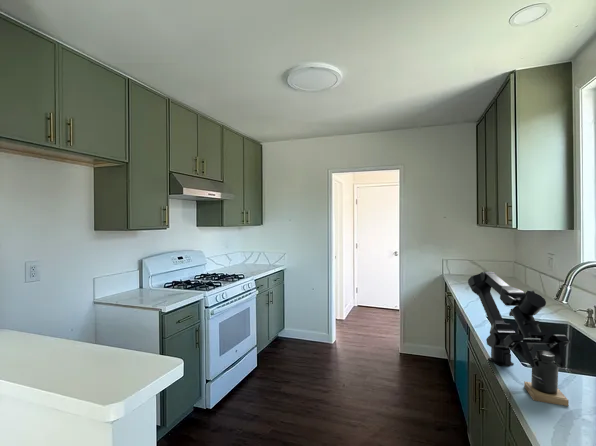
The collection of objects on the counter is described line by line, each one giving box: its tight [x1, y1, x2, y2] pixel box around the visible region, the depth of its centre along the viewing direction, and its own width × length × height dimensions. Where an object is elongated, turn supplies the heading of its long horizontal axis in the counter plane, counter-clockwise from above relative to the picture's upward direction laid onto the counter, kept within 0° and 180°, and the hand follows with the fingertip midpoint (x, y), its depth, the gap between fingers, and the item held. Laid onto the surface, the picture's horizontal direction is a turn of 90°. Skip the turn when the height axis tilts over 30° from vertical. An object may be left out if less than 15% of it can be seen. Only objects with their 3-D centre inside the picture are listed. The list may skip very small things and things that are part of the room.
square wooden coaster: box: [523, 381, 569, 407], centre depth 105 cm, size 9×9×2 cm
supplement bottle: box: [530, 349, 559, 394], centre depth 105 cm, size 7×7×12 cm
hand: (548, 367), depth 104 cm, fingers open, 9 cm apart
